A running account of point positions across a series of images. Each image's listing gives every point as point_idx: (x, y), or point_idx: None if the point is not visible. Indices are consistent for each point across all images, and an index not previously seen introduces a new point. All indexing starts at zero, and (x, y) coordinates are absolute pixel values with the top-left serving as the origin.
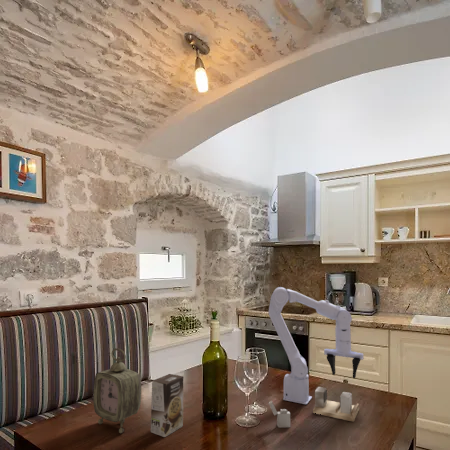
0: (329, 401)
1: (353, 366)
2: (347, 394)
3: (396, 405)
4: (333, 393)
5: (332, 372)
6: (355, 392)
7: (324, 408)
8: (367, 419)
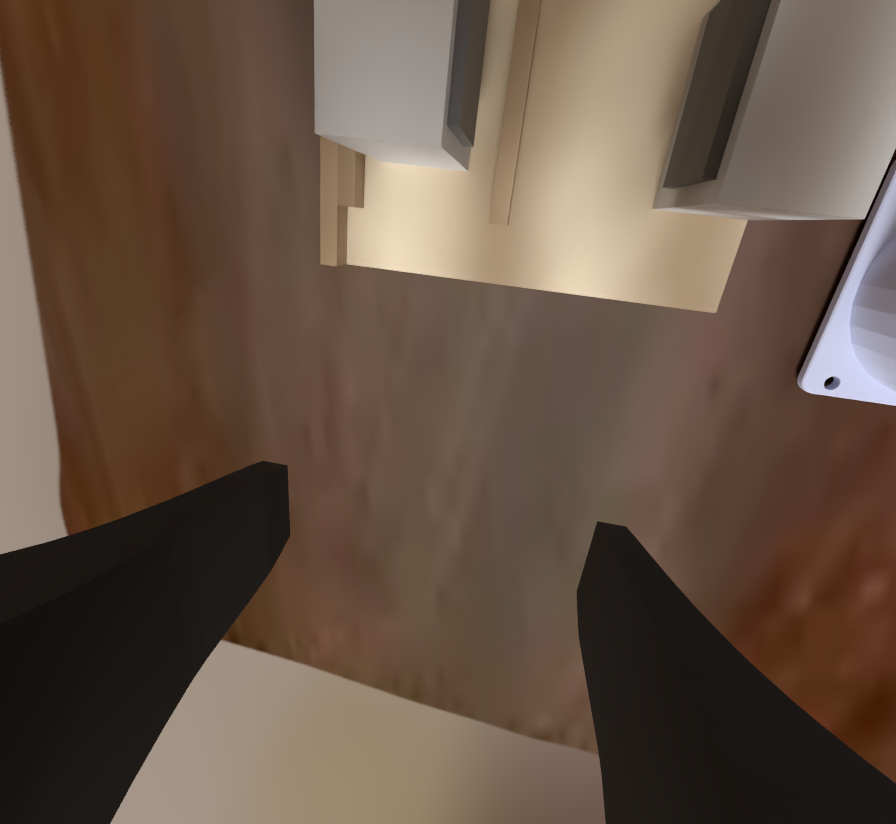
0: (619, 278)
1: (84, 572)
2: (362, 23)
3: (127, 452)
4: (574, 542)
5: (639, 544)
6: (409, 597)
7: (689, 11)
8: (242, 45)
